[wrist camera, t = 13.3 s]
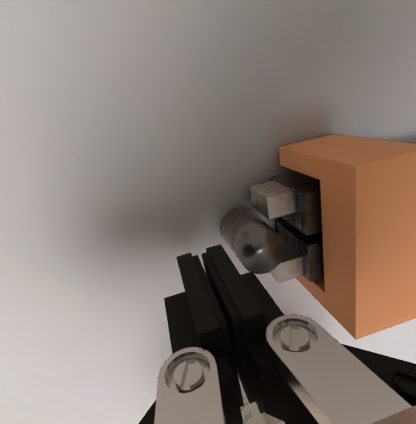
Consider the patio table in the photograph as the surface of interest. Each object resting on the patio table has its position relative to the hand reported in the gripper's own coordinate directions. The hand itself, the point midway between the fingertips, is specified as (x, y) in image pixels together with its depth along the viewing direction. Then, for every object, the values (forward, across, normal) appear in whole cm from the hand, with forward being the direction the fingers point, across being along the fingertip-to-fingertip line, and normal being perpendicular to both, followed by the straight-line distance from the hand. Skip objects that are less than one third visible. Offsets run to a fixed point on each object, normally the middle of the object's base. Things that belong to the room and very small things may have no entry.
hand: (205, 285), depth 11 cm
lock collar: (+4, -7, 0) cm, 8 cm away
